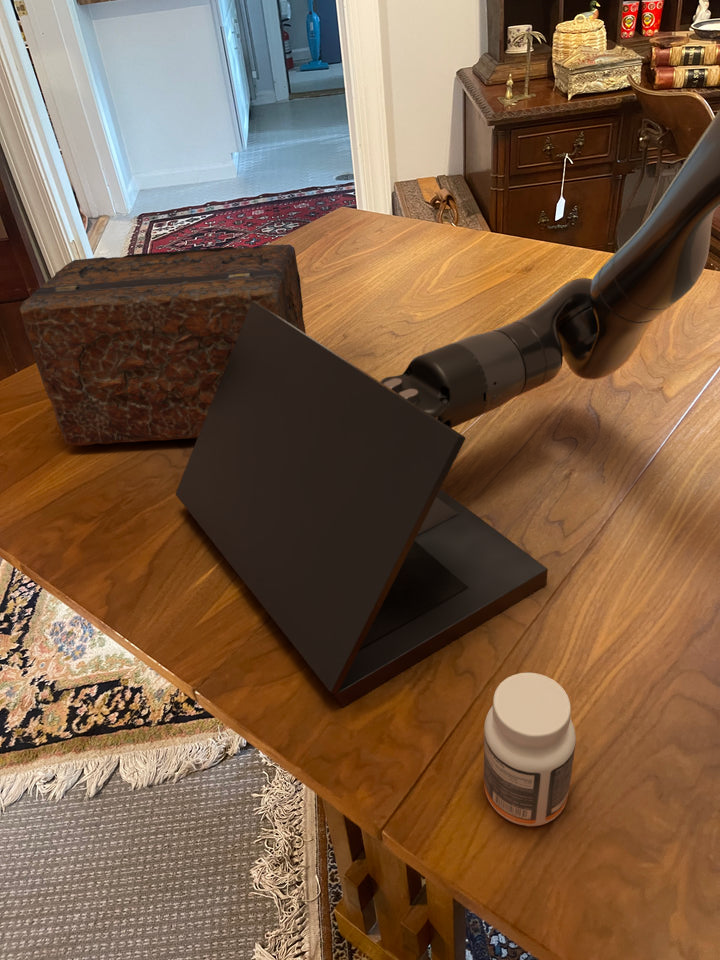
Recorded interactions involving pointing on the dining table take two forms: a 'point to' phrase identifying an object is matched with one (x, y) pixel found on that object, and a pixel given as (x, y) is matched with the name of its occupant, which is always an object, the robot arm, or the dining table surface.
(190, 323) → the decorative box
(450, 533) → the laptop
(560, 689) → the pill bottle
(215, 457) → the laptop screen
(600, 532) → the dining table surface
